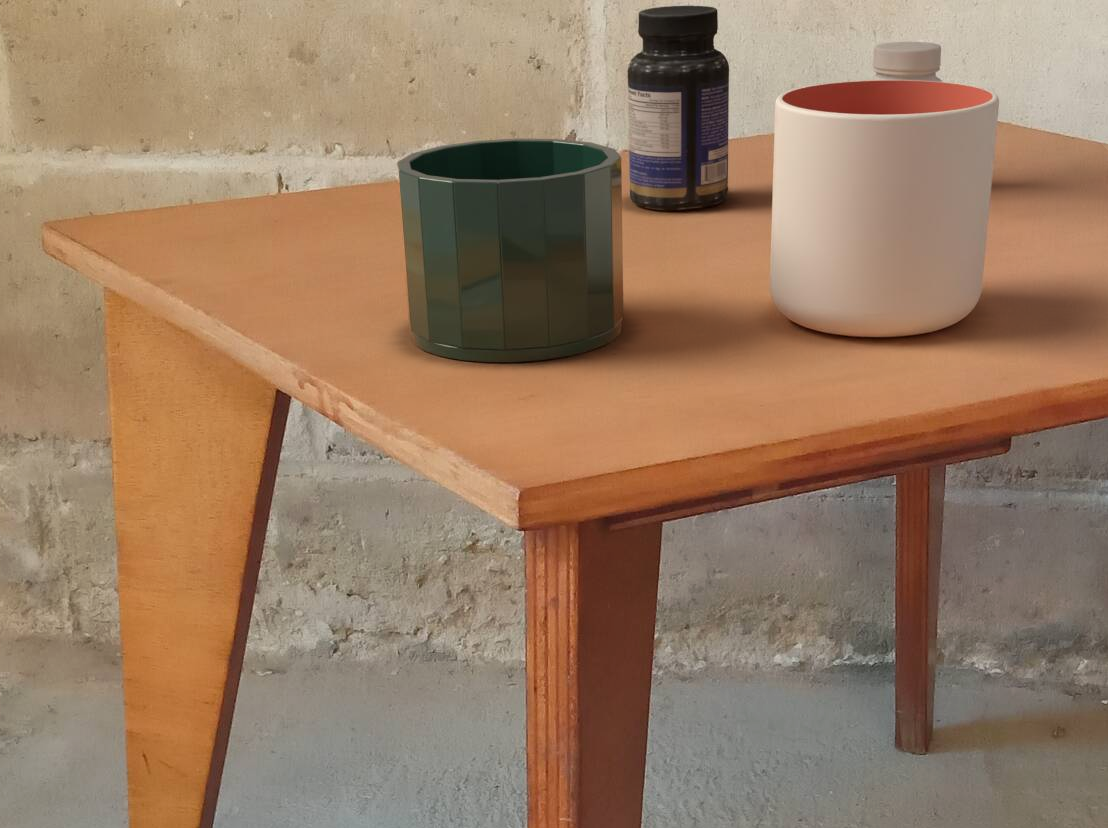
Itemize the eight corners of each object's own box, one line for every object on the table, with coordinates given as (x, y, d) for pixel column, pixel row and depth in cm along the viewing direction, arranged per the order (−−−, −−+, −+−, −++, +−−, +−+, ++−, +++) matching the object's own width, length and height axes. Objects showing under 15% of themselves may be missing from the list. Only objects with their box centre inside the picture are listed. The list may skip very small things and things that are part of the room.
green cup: (642, 306, 85) (641, 139, 81) (592, 367, 76) (588, 184, 72) (449, 299, 87) (438, 137, 84) (380, 357, 79) (365, 179, 75)
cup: (765, 344, 79) (772, 117, 74) (771, 288, 87) (778, 81, 82) (987, 346, 77) (1009, 114, 72) (971, 288, 86) (989, 78, 81)
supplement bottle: (851, 195, 106) (858, 50, 101) (868, 179, 109) (876, 39, 105) (928, 199, 104) (939, 51, 100) (943, 183, 108) (954, 40, 103)
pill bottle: (708, 188, 109) (710, 1, 103) (742, 207, 104) (746, 11, 98) (616, 196, 108) (613, 8, 102) (646, 216, 102) (645, 19, 97)
